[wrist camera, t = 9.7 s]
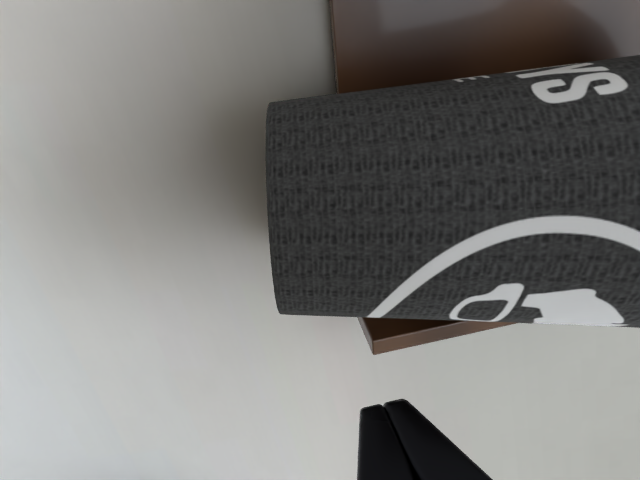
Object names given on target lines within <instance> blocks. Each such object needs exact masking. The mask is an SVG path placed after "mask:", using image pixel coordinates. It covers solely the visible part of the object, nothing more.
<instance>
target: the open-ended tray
mask: <svg viewBox="0 0 640 480" xmlns="http://www.w3.org/2000/svg"><path fill="white" fill-rule="evenodd" d="M329 3H330V15H331V28H332V40H333V53H334V65H335V77H336V90H337V94H341V93H349V92H356V91H364V90H372V89H380V88H388V87H396V86H404V85H412V84H420V83H427V82H435V81H443V80H451V79H459V78H467V77H474V76H482V75H490V74H498V73H506V72H513V71H521V70H529V69H537V68H544V67H552V66H560V65H568V64H575V63H583V62H590V61H598V60H605V59H613V58H620V57H628V56H635V55H640V0H329ZM358 320H359V322H360V324H361V327H362V329H363V332H364V334H365V337H366V339H367V341H368V344H369V346H370V349H371V351H372V353H373V355H376V354H380V353H385V352H389V351H394V350H398V349H403V348H407V347H412V346H416V345H421V344H425V343H430V342H434V341H439V340H443V339H448V338H453V337H457V336H462V335H466V334H471V333H475V332H480V331H484V330H489V329H493V328H498V327H502V326H507V325H511V324H516V323H513V322H485V321H457V320H429V319H400V318H371V317H358Z"/></svg>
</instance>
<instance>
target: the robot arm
mask: <svg viewBox="0 0 640 480" xmlns="http://www.w3.org/2000/svg"><path fill="white" fill-rule="evenodd" d="M357 480H492V479H491V478H490V477H489V476H488V475H487V474H486V473H485V472H484V471H483V470H482V469H481V468H479V467H478V466H477V465H476V464H475V463H474V462H473V461H472V460H471V459H470V458H469V457H468V456H467V455H465V454H464V453H463V452H462V451H461V450H460V449H459V448H458V447H457V446H456V445H455V444H454V443H452V442H451V441H450V440H449V439H448V438H447V437H446V436H445V435H444V434H443V433H442V432H441V431H440V430H438V429H437V428H436V427H435V426H434V425H433V424H432V423H431V422H430V421H429V420H428V419H427V418H425V417H424V416H423V415H422V414H421V413H420V412H419V411H418V410H417V409H416V408H415V407H414V406H413V405H411V404H410V403H409V402H408V401H407V400H405V399H399V400H395V401H390V402H386V403H385V404H384V405H383V406H382V405H380V404H377V405H373V406H369V407H365V408H362V409H361V411H360V424H359V448H358V471H357Z"/></svg>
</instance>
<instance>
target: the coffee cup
mask: <svg viewBox="0 0 640 480" xmlns="http://www.w3.org/2000/svg"><path fill="white" fill-rule="evenodd" d="M266 186H267V210H268V227H269V242H270V255H271V266H272V276H273V285H274V292H275V299H276V304H277V308H278V311H279V313H280V314H287V315H313V316H342V317H371V318H400V319H429V320H457V321H485V322H513V323H540V324H566V325H592V326H616V327H639V328H640V55H635V56H628V57H620V58H613V59H605V60H598V61H590V62H583V63H575V64H568V65H560V66H552V67H544V68H537V69H529V70H521V71H513V72H506V73H498V74H490V75H482V76H474V77H467V78H459V79H451V80H443V81H435V82H427V83H420V84H412V85H404V86H396V87H388V88H380V89H372V90H364V91H356V92H349V93H341V94H333V95H325V96H317V97H309V98H301V99H293V100H286V101H278V102H271V103H269V105H268V109H267V119H266Z"/></svg>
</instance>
